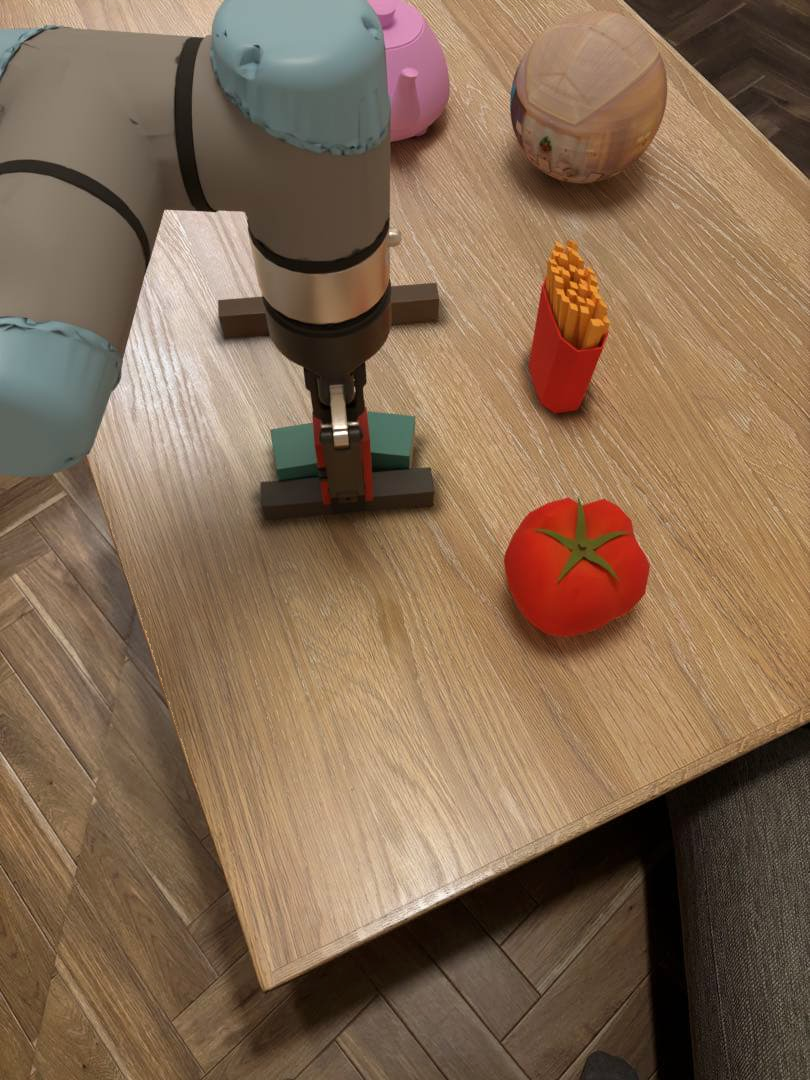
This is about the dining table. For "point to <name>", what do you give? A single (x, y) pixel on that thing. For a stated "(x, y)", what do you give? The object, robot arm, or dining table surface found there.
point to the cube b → (391, 441)
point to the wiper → (380, 486)
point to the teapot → (412, 68)
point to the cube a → (294, 452)
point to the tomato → (575, 566)
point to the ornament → (588, 96)
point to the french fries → (567, 331)
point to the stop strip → (405, 308)
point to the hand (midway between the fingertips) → (347, 488)
